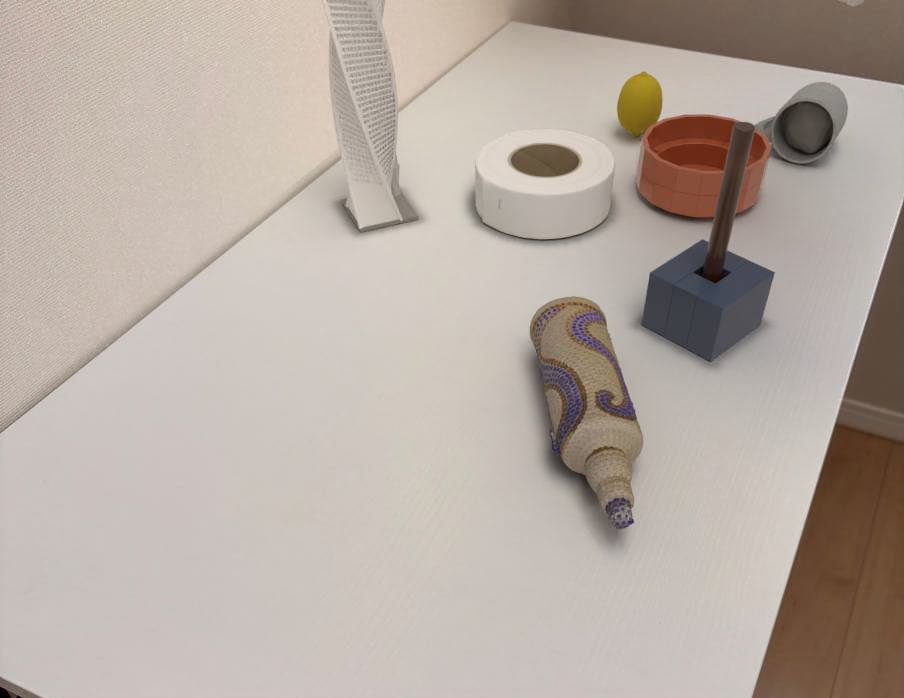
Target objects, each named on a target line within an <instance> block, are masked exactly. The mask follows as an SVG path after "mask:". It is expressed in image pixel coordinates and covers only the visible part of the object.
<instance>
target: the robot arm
mask: <svg viewBox="0 0 904 698" xmlns="http://www.w3.org/2000/svg"><path fill="white" fill-rule="evenodd" d="M835 1H836V2H838V3H841V4H842V5H843V4H844V5H846V6H849V7H853V8H854V7H857V6H860V5H862V4H863V3H864V1H865V0H835Z"/></svg>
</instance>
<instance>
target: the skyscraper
mask: <svg viewBox="0 0 904 698" xmlns="http://www.w3.org/2000/svg"><path fill="white" fill-rule="evenodd" d="M321 2H322V5H323V8H324V12H325V16H326V20H327V24H328V26H329V36H328V37H329V39H328V76H329V91H330V101H331V110H332V117H333V123H334V129H335V135H336V141H337V147H338V151H339V155H340V161H341V165H342V169H343V173H344V178H345V181H346V185H347V189H348V191H347V196H346V198H343V199H341V204H342V206H343V207H344V209H345V210H346V212H347V214H348V215H349V217H350V218H351V220H352V221H353V223H354V225H355V226H356V228H357V229H358V231H359V233H364V232H369V231H373V230H378V229H382V228H387V227H391V226H395V225H400V224H404V223H408V222H409V223H410V222H414V221H417V220H419V215H418V214H417V212H416V210H415V209H414V207H412V205H411V204H410V202H409V201H408V200H407V198H406V197H405V196H404V194H403V193H402V190H401V187H400V163H399V161H398V156H397V145H398V132H399V131H398V128H399V103H398V88H397V80H396V73H395V68H394V63H393V58H392V53H391V49H390V47H389V42H388V39H387V38H388V37H387V35H386V31H385V28H384V25H383V18H384V10H385V3H386V0H321Z"/></svg>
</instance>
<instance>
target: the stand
mask: <svg viewBox="0 0 904 698" xmlns="http://www.w3.org/2000/svg"><path fill="white" fill-rule="evenodd" d="M708 244H709V240H706V239H703V238H702V239H700V240H699V241H697V242H696V243H694V244H692V245H691V246H690V247H688V248H686V249H685V250H683V251H682V252H680V253H678V254H677V255H675V256H673V257H672V258H671V259H669V260H667V261H665V262H664V263H663V264H661V265H659V266H658V267H656V268H655V269H653V270H651V271H650V272H649V276H648V281H647V288H646V294H645V300H644V307H643V313H642V318H641V326H643V327H645V328H647V329H649V330H650V331H652V332H655V333H656V334H658V335H659V336H661V337H664V338H665V339H667V340H669V341H671V342H673V343H674V344H676V345H678V346H679V347H682V348H684V349H686V350H688V351H689V352H691V353H692V354H695V355H697V356H699V357H701V358H703V359H705V360H707V361H708V362H709V363H710V362H712V361H714V360H715V359H716V358H717V357H719V356H720V355H721V354H723V353H724V352H726V351H727V350H728V349H730V348H731V347H732V346H734V345H735V344H737V343H738V342H739V341H741V340H742V339H744V337H746V336H747V335H749V334H750V333H751V332H752V331H754V330H755V329H757V328H758V327H759V326H761V324H762V320H763V317H764V314H765V311H766V306H767V303H768V299H769V296H770V292H771V288H772V285H773V281H774V277H775V273H776V272H775V271H773V270H771V269H769V268H767V267H764V266H763V265H760V264H758V263H756V262H754V261H751V260H749V259H747V258H745V257H743V256H740V255H738V254H737V253H734V252H731V251H730V250H728V249H727V254H726V258H725V262H724V267H723V271H722V276H721V280H720V281H719V282H717V283H716V284H715V283H713V282H711V281H709V280H707V279H705V278H703V277H702V272H703V267H704V263H705V258H706V253H707V248H708Z"/></svg>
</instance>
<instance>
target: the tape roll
mask: <svg viewBox="0 0 904 698" xmlns="http://www.w3.org/2000/svg"><path fill="white" fill-rule="evenodd" d="M474 163H475V165H474V169H475V171H474V172H475V173H474V175H475V187H474V188H475V189H474V190H475V191H474V193H475V197H474V198H475V199H474V200H475V209H476V212H477V214H478V216H479V218H481V220H482V223H483V224H486V225H487V226H489V227H491V228H493V229H495V230H497V231H498V232H502V233H504V234H507V235H512V236H515V237H518V238H523V239H531V240H555V239H556V240H557V239H563V238H569V237H573V236H576V235H581V234H584V233H586V232H588V231H590V230H593V229H594V228H596V227H597V226H599V225H600V224H601V223H603V222H604V221H605V219H606V218H607V217H608V215H609V213H610V210H611V205H612V196H613V185H614V176H615V168H616V161H615V156H614V154H613V153H612V151H611V150H610V149H609V148H608V147H607V146H606V145H605V144H604V143H603V142H602V141H600V140H597V139H595V138H593V137H592V136H589V135H586V134H582V133H579V132H576V131H571V130H564V129H560V128H536V129H535V128H532V129H523V130H517V131H512V132H509V133H505V134H503V135H500V136H497V137H495V138H494V139H492V140H490V141H489V142H487V143H485V145H483V146H482V147H481V148H480V149H479V151H478V153H477V155H476V157H475V162H474Z"/></svg>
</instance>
